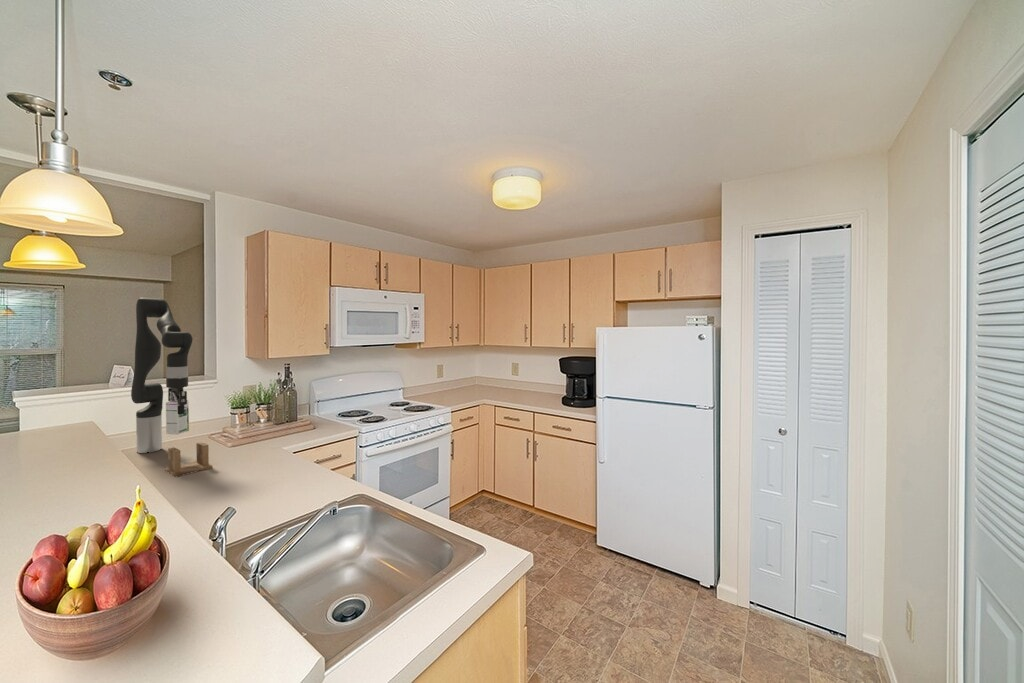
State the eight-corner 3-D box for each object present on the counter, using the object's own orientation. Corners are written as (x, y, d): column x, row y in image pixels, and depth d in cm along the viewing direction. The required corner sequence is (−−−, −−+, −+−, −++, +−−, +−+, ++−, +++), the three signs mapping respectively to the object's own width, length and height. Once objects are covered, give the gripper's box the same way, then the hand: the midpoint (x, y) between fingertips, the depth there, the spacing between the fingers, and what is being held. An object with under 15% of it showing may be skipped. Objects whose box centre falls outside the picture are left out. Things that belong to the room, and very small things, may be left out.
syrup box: (178, 434, 175) (178, 402, 175) (165, 434, 175) (165, 401, 175) (189, 431, 181) (189, 399, 180) (176, 430, 181) (176, 399, 181)
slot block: (164, 470, 170) (164, 447, 170) (200, 462, 181) (200, 440, 181) (175, 476, 164) (175, 453, 163) (212, 467, 175) (212, 445, 174)
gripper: (160, 375, 178) (160, 411, 179) (172, 378, 170) (172, 416, 171) (181, 374, 184) (181, 408, 185) (194, 377, 176) (194, 413, 177)
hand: (177, 412), depth 178 cm, fingers closed on syrup box, 7 cm apart
